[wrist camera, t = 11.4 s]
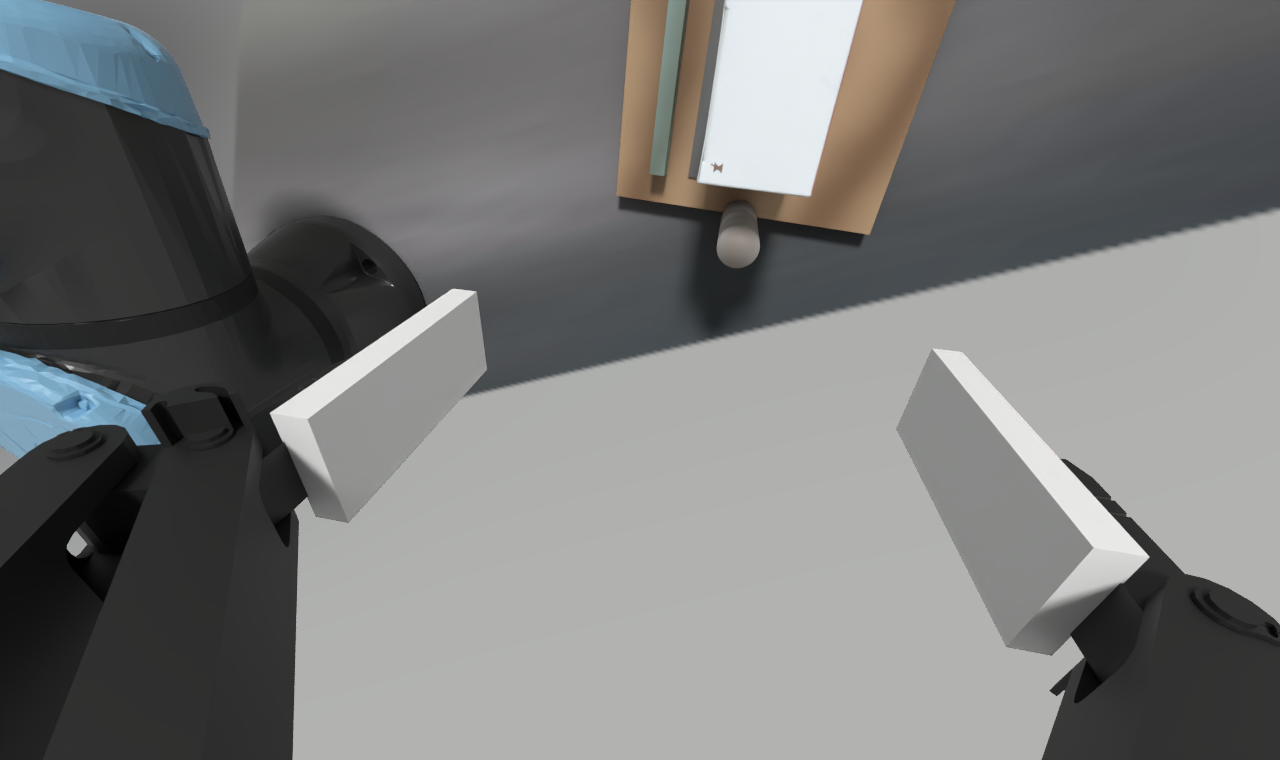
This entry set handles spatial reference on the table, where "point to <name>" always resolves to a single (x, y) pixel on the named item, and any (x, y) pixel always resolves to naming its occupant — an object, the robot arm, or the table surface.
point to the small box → (776, 92)
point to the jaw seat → (856, 144)
